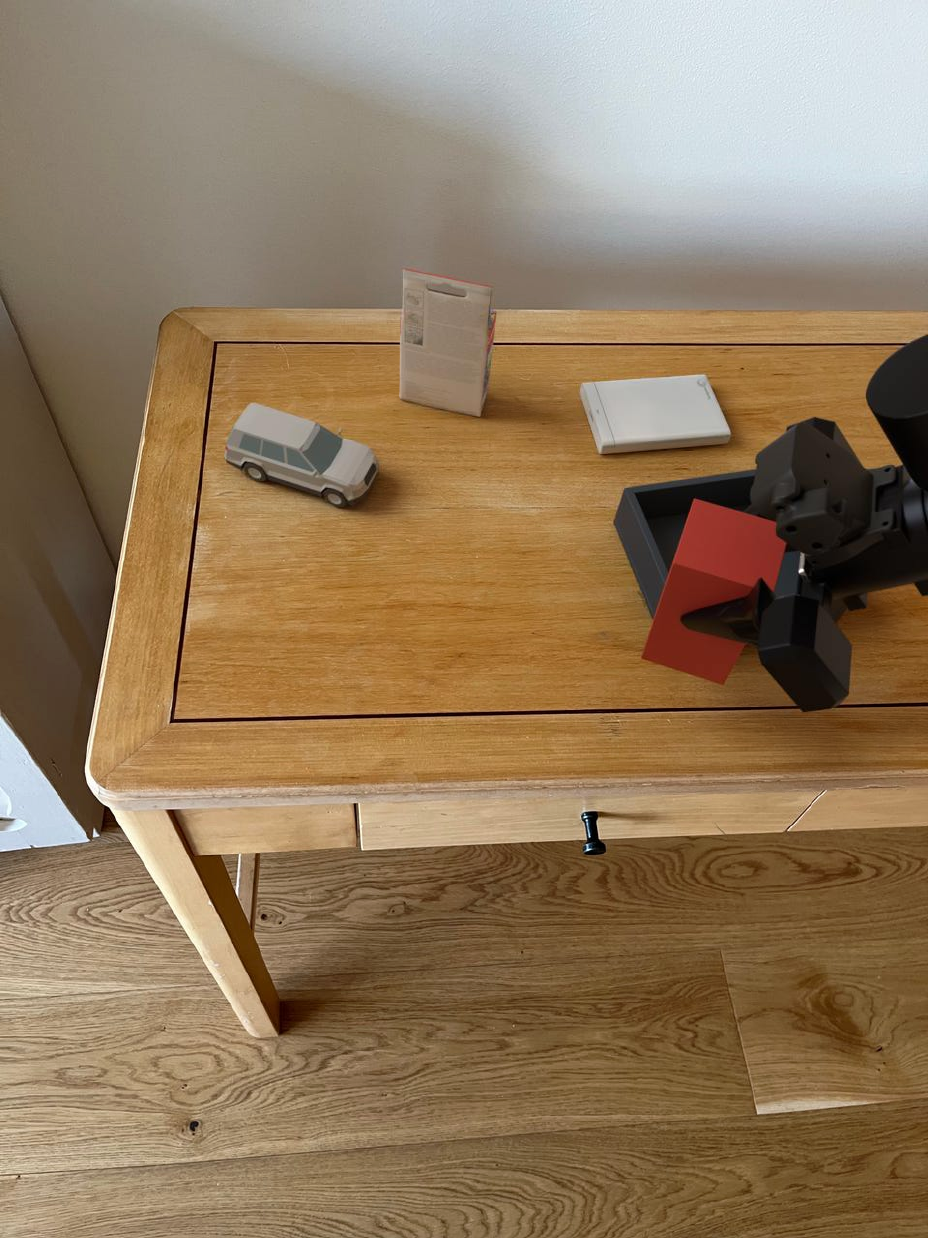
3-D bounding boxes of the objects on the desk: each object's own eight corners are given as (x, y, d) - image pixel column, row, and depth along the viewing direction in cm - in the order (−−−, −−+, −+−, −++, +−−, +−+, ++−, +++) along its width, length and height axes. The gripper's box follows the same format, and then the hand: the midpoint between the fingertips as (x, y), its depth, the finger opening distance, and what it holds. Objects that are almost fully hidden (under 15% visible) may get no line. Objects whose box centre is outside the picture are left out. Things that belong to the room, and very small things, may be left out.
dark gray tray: (773, 498, 84) (791, 463, 80) (838, 621, 77) (862, 589, 73) (612, 522, 81) (623, 487, 77) (665, 651, 74) (680, 620, 70)
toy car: (360, 518, 79) (358, 479, 75) (224, 473, 81) (214, 433, 77) (385, 471, 82) (385, 431, 78) (254, 429, 84) (246, 388, 80)
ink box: (408, 375, 89) (411, 241, 77) (488, 393, 89) (504, 261, 76) (397, 402, 87) (399, 268, 75) (480, 420, 87) (495, 289, 74)
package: (739, 626, 68) (791, 526, 56) (723, 685, 65) (774, 593, 54) (659, 601, 69) (694, 498, 57) (640, 658, 66) (673, 562, 55)
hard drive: (705, 372, 90) (581, 380, 88) (732, 433, 86) (603, 443, 84) (700, 384, 91) (578, 393, 89) (726, 446, 87) (599, 456, 85)
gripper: (887, 309, 52) (648, 407, 62) (874, 566, 42) (592, 632, 52) (960, 443, 57) (730, 512, 68) (963, 697, 47) (693, 732, 58)
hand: (690, 586), depth 61 cm, fingers closed on package, 5 cm apart
